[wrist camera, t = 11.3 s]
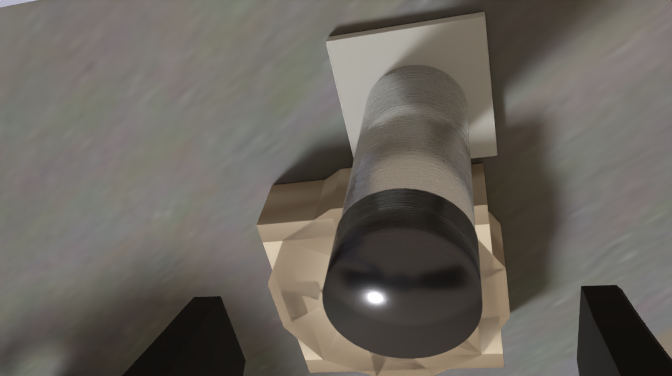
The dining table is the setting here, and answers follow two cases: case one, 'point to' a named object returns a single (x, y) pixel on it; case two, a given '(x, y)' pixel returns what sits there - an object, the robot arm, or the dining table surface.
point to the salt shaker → (408, 223)
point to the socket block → (311, 267)
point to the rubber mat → (418, 49)
